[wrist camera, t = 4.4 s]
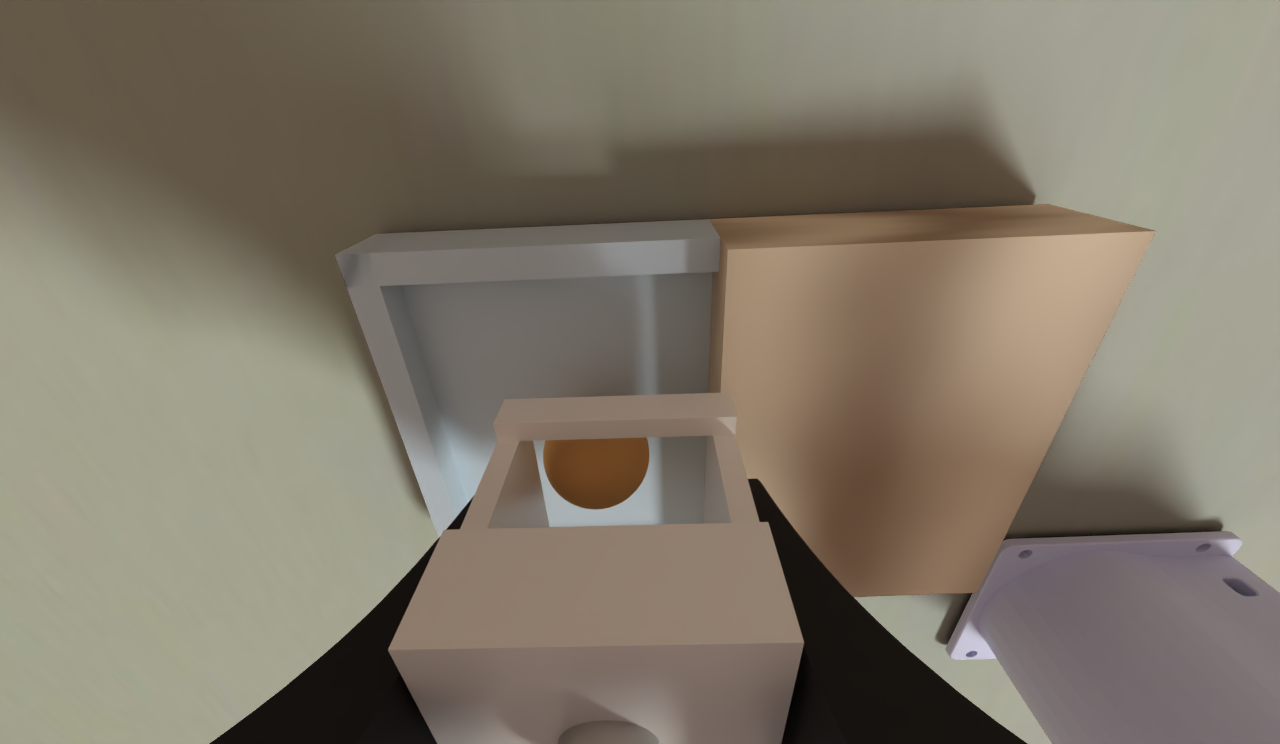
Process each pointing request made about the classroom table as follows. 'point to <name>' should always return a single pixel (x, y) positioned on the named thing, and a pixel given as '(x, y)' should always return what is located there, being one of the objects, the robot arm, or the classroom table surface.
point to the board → (909, 373)
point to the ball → (596, 469)
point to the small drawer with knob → (603, 601)
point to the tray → (537, 345)
